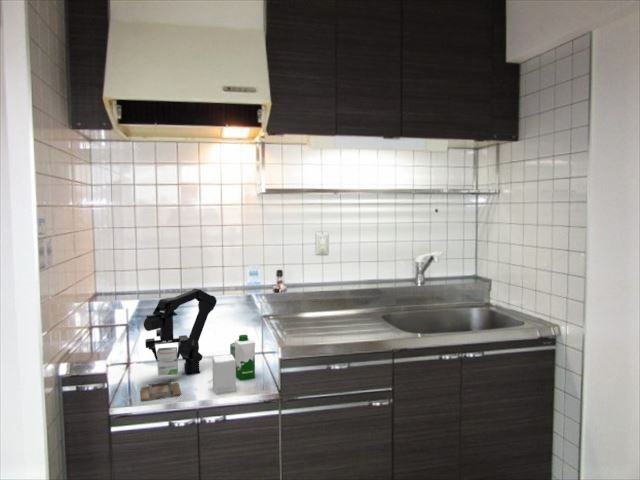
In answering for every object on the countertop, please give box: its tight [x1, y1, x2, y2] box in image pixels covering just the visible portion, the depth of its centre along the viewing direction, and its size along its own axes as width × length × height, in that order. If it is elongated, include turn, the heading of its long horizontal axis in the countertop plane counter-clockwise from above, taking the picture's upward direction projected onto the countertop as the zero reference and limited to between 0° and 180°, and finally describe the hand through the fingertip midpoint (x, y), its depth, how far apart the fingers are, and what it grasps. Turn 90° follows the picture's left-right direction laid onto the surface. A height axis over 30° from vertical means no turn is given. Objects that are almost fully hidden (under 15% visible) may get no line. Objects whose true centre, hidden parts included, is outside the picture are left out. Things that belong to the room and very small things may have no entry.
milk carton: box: [234, 334, 256, 381], centre depth 221 cm, size 9×9×20 cm
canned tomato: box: [229, 342, 235, 359], centre depth 240 cm, size 8×8×11 cm
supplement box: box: [212, 354, 237, 396], centre depth 205 cm, size 9×9×15 cm
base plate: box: [140, 380, 182, 402], centre depth 204 cm, size 16×14×2 cm
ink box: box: [156, 346, 179, 377], centre depth 217 cm, size 9×5×12 cm, turn 100°
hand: (167, 359), depth 217 cm, fingers closed on ink box, 9 cm apart
